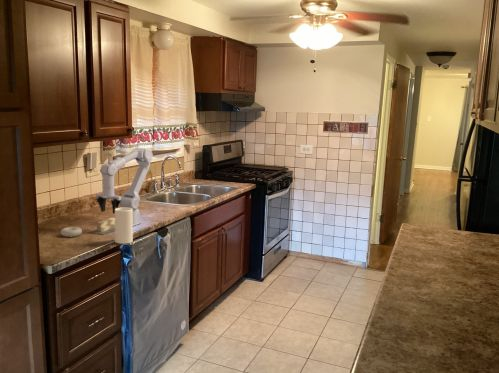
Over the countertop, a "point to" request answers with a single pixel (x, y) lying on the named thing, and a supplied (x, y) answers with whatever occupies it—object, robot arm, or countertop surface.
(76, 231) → the donut
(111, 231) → the mat
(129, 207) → the robot arm
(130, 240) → the cup
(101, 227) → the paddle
